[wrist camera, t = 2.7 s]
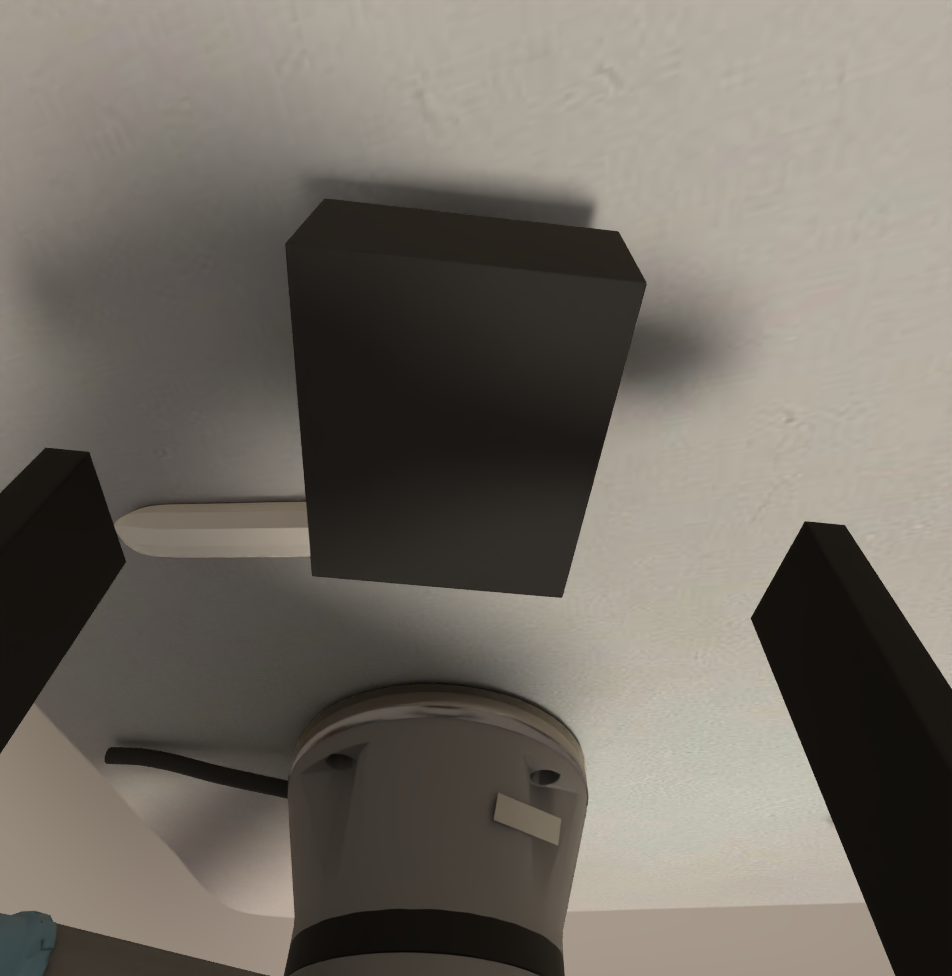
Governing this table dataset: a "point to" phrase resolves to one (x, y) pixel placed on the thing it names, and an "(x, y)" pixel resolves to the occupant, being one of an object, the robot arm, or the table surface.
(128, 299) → the table surface
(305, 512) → the pen
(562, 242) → the dark grey rectangular block
